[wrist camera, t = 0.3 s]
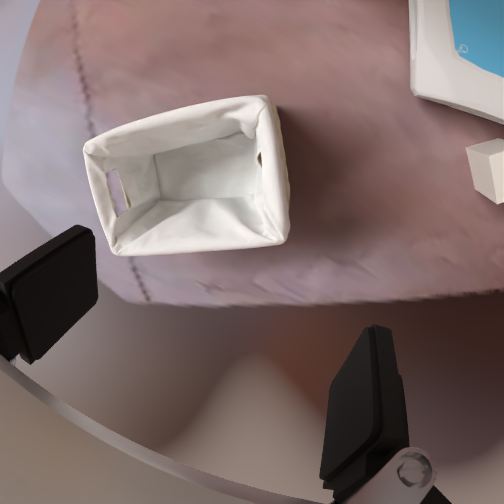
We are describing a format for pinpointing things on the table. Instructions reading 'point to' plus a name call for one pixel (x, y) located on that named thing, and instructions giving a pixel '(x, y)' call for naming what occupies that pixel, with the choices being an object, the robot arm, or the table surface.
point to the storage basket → (194, 179)
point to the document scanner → (458, 54)
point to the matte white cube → (488, 168)
